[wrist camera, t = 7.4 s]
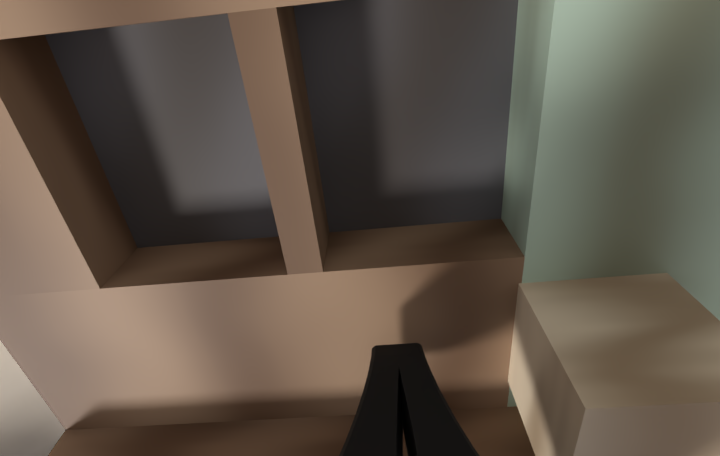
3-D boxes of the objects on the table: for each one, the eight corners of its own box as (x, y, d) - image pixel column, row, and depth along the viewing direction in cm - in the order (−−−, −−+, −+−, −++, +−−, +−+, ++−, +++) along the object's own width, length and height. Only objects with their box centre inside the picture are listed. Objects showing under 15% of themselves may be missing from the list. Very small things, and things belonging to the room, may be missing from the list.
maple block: (667, 272, 11) (804, 397, 8) (634, 373, 13) (730, 510, 10) (518, 283, 11) (585, 408, 8) (507, 380, 13) (557, 516, 10)
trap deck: (826, -137, 9) (1194, -244, 5) (652, 356, 16) (745, 470, 12) (-127, -15, 10) (-434, -23, 6) (111, 387, 18) (38, 499, 14)
